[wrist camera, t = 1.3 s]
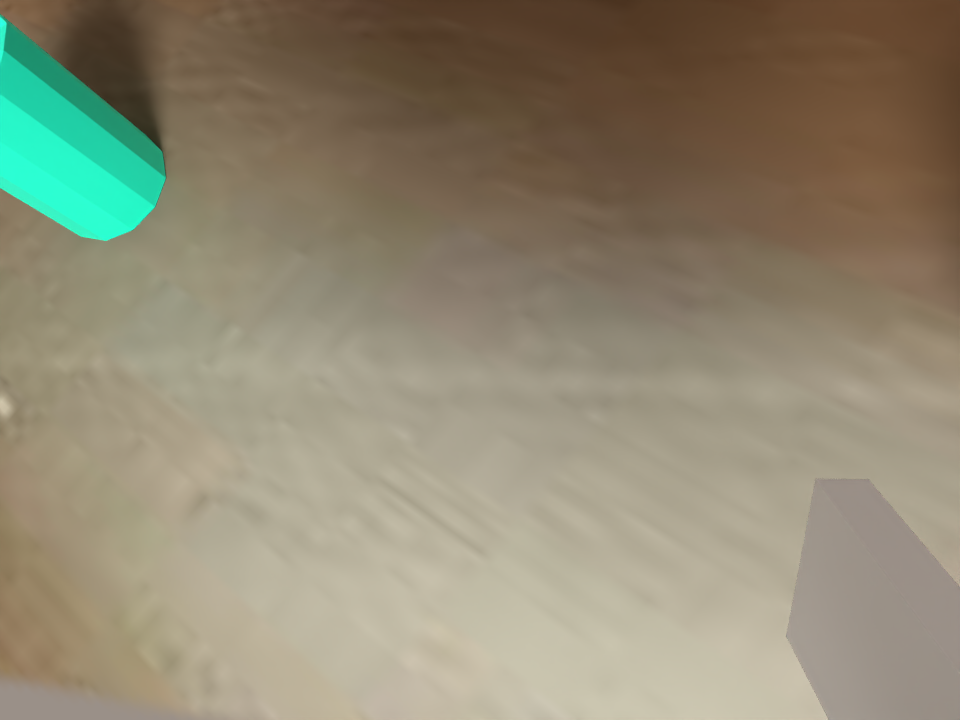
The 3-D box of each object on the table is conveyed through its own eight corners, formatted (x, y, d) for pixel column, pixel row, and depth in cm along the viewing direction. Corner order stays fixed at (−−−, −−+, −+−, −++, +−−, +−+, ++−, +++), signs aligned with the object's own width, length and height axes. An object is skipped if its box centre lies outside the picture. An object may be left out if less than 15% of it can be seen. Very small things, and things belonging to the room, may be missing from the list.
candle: (83, 263, 44) (-140, 138, 33) (49, 176, 47) (-171, 31, 36) (183, 195, 44) (-10, 45, 33) (143, 110, 46) (-50, -57, 35)
